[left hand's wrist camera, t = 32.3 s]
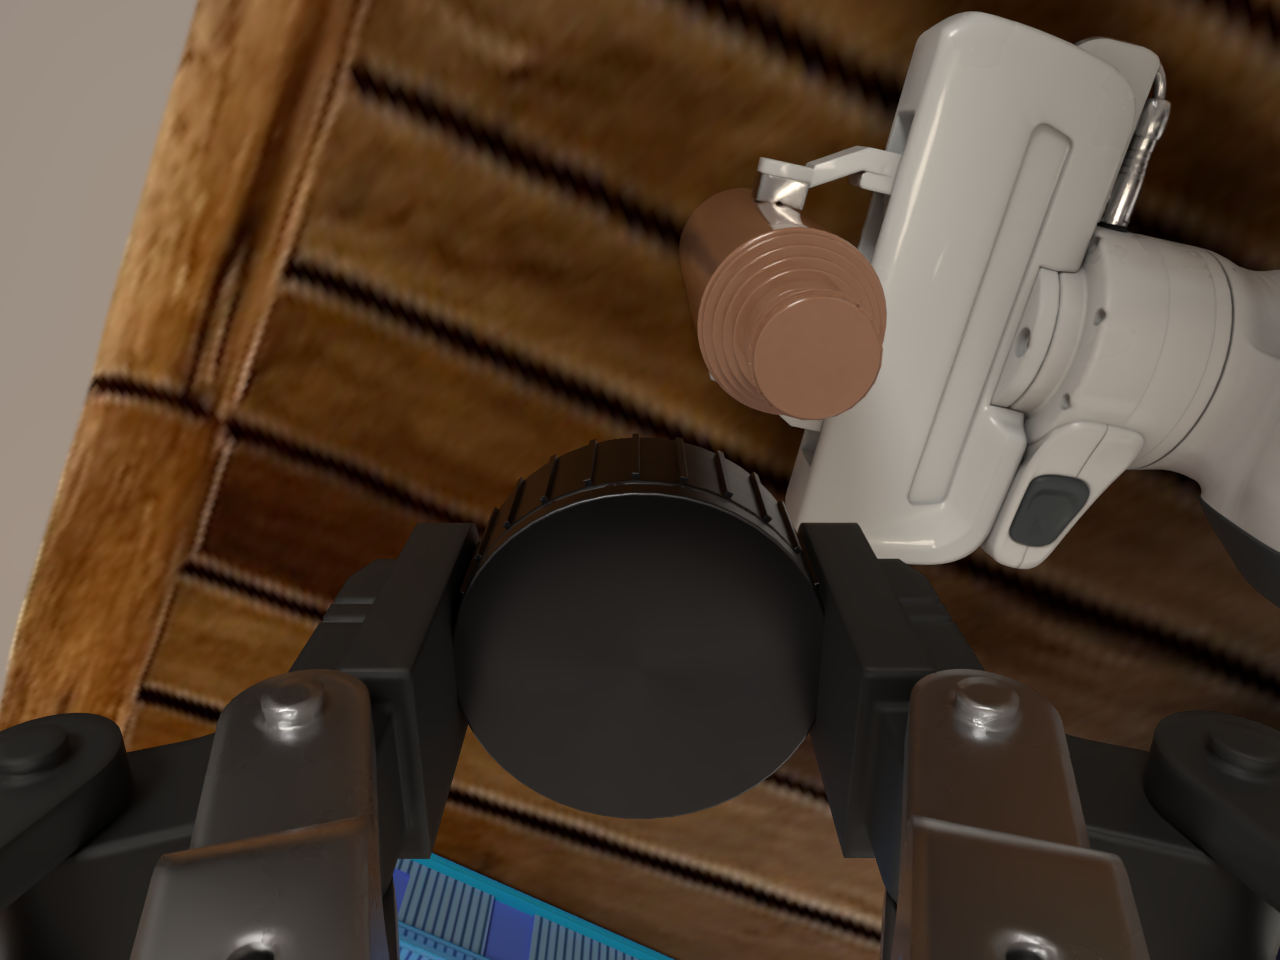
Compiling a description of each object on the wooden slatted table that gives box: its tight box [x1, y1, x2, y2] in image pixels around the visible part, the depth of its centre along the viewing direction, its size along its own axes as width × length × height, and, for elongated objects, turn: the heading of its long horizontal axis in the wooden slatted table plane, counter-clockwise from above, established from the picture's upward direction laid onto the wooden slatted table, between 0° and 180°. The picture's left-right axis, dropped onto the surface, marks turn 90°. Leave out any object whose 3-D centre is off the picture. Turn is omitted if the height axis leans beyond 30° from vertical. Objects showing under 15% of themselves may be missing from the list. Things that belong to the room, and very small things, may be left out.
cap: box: [452, 434, 825, 819], centre depth 11 cm, size 4×4×2 cm
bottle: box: [679, 188, 887, 421], centre depth 31 cm, size 6×6×19 cm
